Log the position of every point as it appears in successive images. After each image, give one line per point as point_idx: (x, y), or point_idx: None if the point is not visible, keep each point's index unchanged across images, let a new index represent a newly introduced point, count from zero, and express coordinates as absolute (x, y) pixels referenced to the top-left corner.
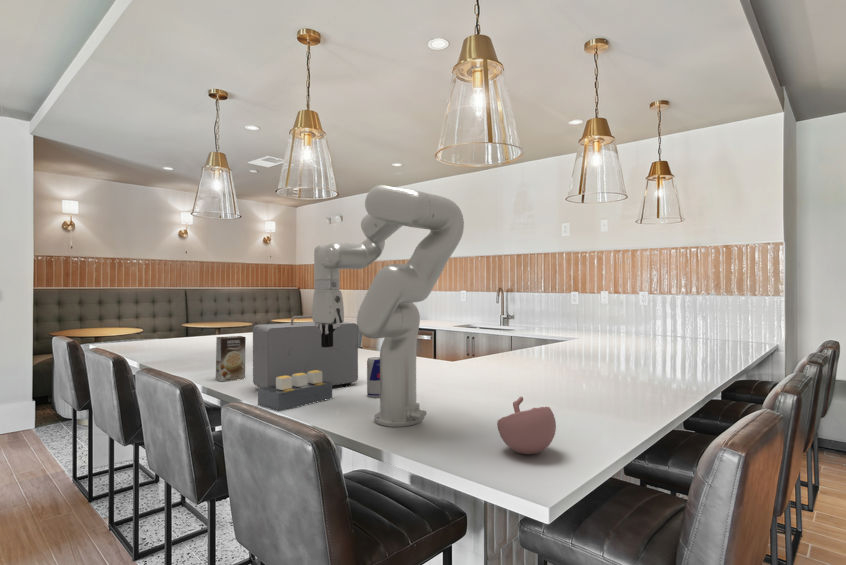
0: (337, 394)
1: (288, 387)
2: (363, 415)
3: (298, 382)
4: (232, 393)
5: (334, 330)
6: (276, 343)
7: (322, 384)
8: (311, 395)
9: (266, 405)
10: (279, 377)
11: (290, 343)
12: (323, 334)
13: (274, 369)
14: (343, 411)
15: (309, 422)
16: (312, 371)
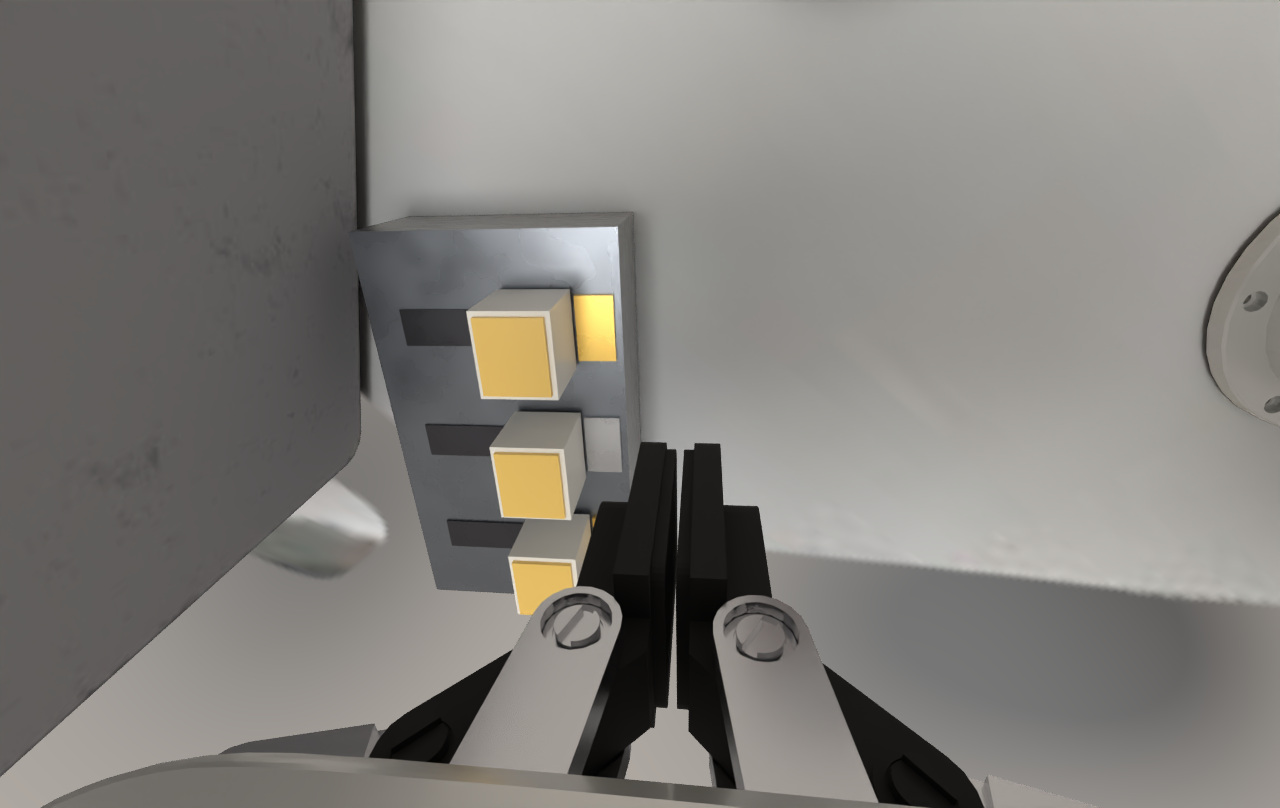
0: (555, 99)
1: (588, 538)
2: (1088, 349)
3: (580, 490)
4: None
5: (872, 704)
6: (56, 647)
7: (619, 320)
8: (633, 388)
9: None
10: None
11: (24, 517)
12: (659, 705)
13: (261, 500)
14: (921, 364)
15: (905, 561)
16: (505, 374)
